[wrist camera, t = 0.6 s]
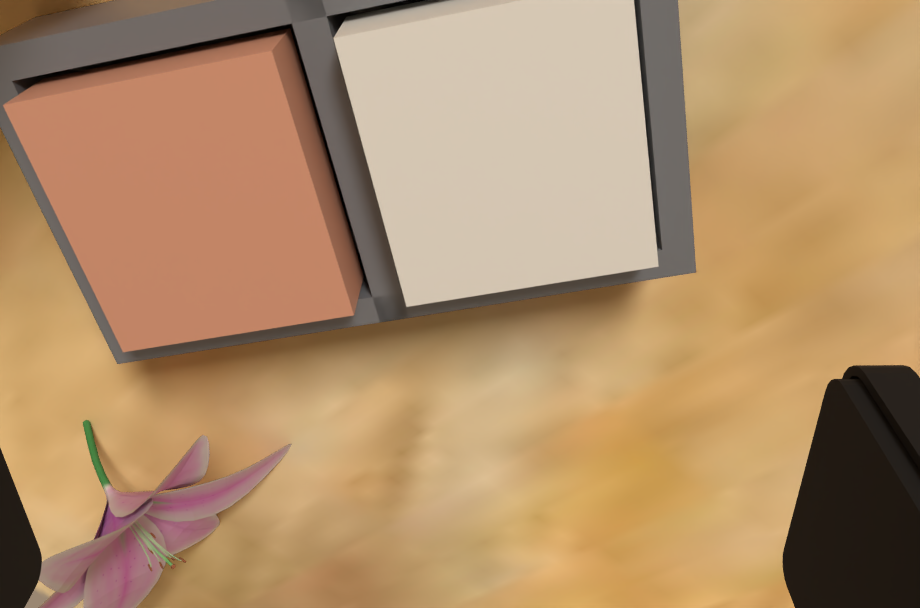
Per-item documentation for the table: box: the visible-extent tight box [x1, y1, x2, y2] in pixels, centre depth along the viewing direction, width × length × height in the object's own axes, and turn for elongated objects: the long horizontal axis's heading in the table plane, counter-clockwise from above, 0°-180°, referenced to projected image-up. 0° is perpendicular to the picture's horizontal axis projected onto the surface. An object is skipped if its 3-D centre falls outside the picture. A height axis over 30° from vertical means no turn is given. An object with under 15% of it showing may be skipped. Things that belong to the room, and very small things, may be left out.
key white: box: [333, 0, 659, 307], centre depth 25 cm, size 8×8×2 cm
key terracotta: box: [3, 28, 364, 352], centre depth 26 cm, size 8×8×2 cm
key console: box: [0, 0, 696, 364], centre depth 28 cm, size 11×20×4 cm, turn 101°
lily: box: [39, 420, 292, 608], centre depth 35 cm, size 12×12×10 cm
